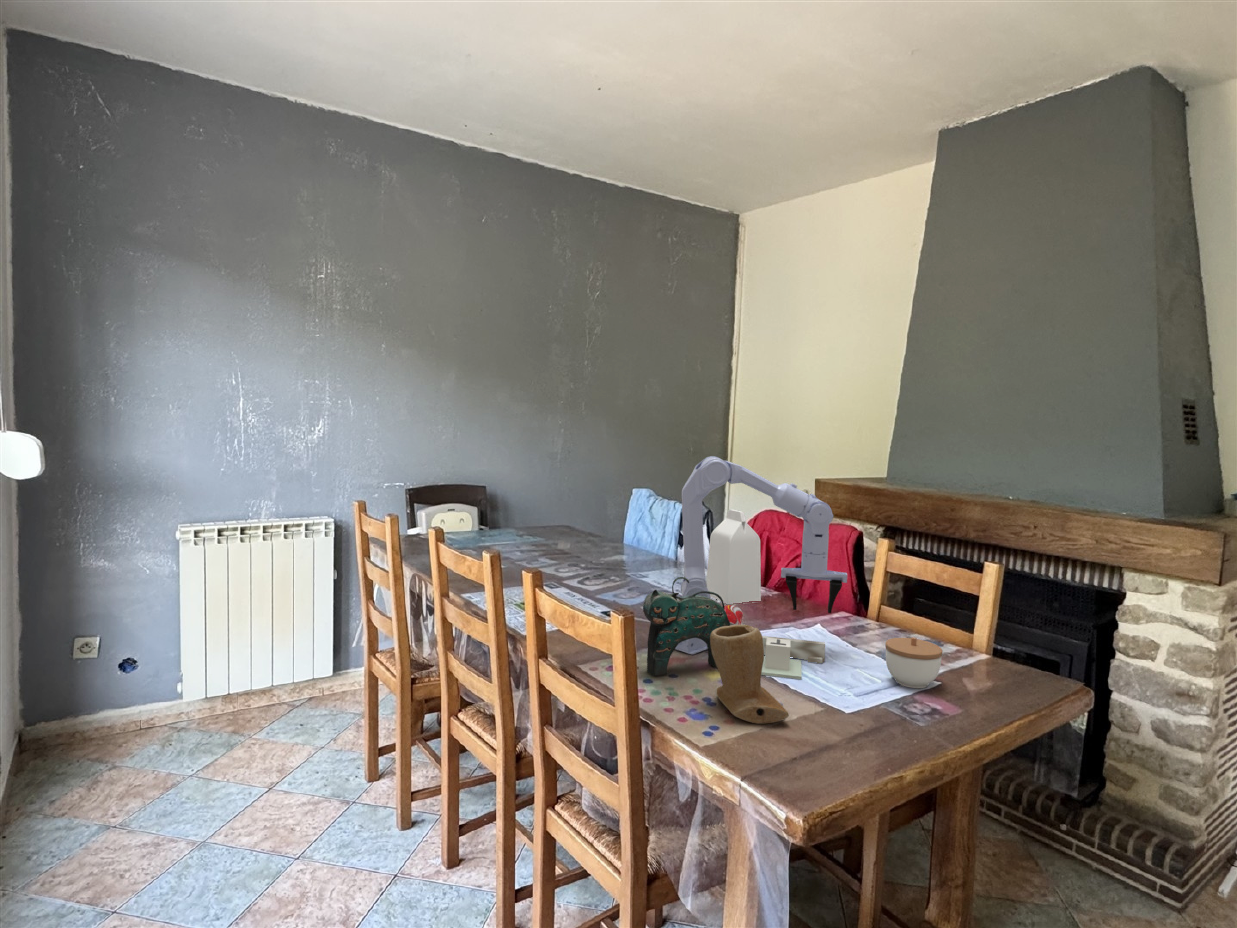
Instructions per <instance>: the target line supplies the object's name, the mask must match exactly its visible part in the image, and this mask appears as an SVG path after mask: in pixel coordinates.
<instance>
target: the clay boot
mask: <svg viewBox="0 0 1237 928" xmlns="http://www.w3.org/2000/svg"><path fill="white" fill-rule="evenodd" d="M762 636H763V635H762V633H761V630H760V629H759V628H758V627H753V626H752V625H749V624H744V625H731V626H723V627H720V628H717V629H715V630H713V631H712V633H711V635H710V644H711V651H712V655H713V658H714V660H715V663H716V665H717V668H716V669H717V670H718V673H719V676H720V680H721V684H722V685H720V686H719V687H718V688H717V689H716V695H717V698H718V700H719V701H720V702H721V703H722V704H723V706H724V707H725V708H726V709H727V710H729V712H730V713H731V715H733V716H734V717H736V718H739V719H740V720H743V721H745V722H749V723H753V724H759V725H760V724H763V725H764V724H765V725H766V724H772V723H776V722H780V721H782V720H783V721H784V720H786V719H787V718H788V717H789V715H790V714H789V712H788V711H787V710H786V708H784V706H783V705H782V704H781V703H780V702H779V701H778V700H777V699H776V698H775V697H774V696H773V695H772V694H771V693H770V692H769V691H768V690H767V689H765V687H762V686H761V684H762V683H761V680H762V679H761V678H762V675H761V672H762V666H763V661H764V648H763V638H762Z"/></svg>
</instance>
